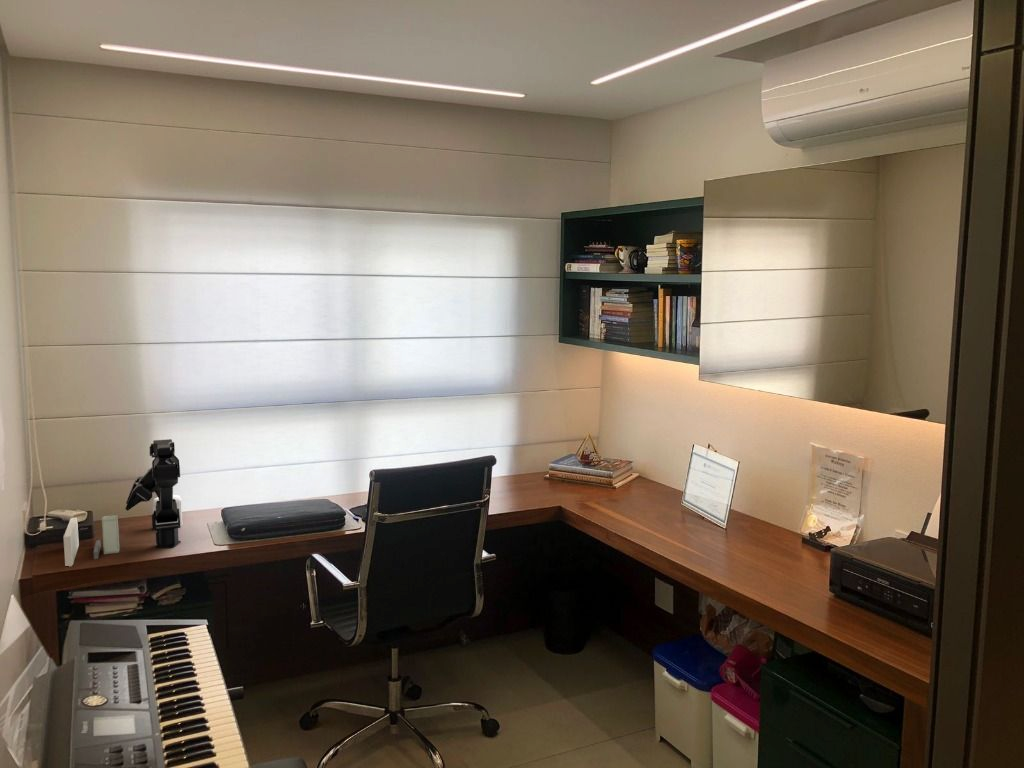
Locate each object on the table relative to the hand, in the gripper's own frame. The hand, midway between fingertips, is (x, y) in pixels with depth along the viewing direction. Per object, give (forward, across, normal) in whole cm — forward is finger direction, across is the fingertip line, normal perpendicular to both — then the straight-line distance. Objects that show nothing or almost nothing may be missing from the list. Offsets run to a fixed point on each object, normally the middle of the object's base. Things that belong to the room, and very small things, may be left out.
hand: (126, 506), depth 292 cm
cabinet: (+13, -8, -5) cm, 16 cm away
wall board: (+19, -8, 0) cm, 20 cm away
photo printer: (0, +16, -19) cm, 25 cm away
